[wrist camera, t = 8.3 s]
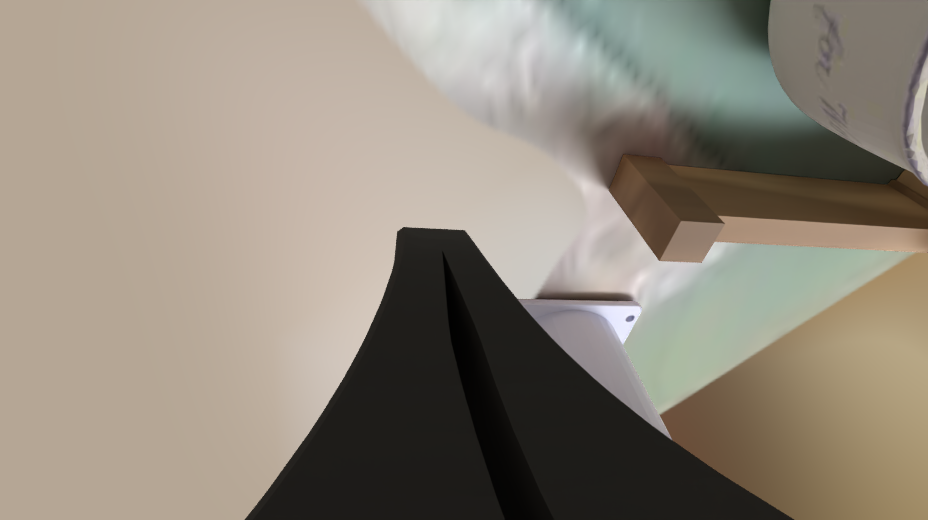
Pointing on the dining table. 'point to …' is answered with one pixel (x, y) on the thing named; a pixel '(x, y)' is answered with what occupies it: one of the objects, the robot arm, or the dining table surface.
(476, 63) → the dining table surface
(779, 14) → the teacup
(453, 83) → the dining table surface
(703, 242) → the wooden frame
